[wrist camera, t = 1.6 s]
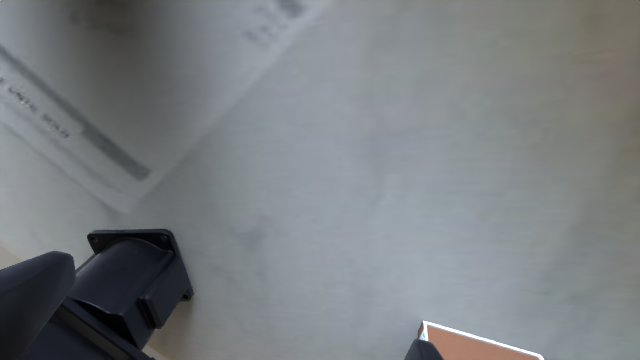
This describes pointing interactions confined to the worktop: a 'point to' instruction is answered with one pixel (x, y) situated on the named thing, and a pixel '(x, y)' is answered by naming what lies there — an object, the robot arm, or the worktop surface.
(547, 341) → the worktop surface
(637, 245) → the worktop surface
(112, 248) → the robot arm
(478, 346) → the food container
